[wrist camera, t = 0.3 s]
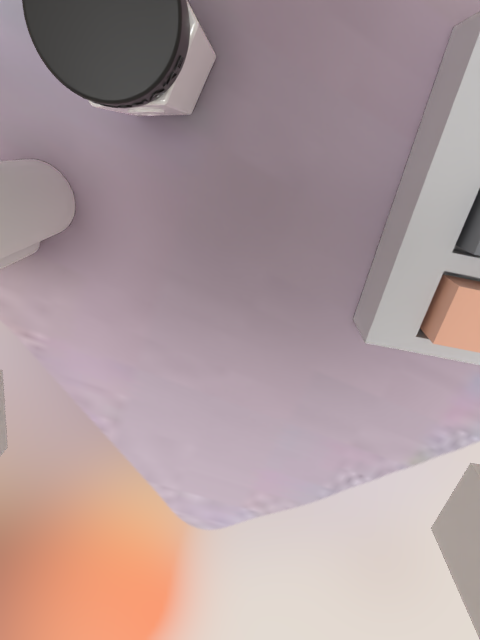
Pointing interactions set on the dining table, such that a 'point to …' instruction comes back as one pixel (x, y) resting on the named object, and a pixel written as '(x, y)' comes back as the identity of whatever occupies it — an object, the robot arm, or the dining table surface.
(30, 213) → the grey stepped double column
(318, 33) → the dining table surface
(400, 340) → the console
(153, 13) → the jar
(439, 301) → the terracotta key
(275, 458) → the dining table surface
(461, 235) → the charcoal key
